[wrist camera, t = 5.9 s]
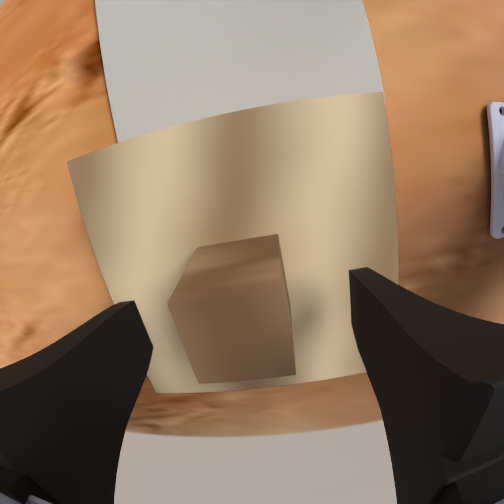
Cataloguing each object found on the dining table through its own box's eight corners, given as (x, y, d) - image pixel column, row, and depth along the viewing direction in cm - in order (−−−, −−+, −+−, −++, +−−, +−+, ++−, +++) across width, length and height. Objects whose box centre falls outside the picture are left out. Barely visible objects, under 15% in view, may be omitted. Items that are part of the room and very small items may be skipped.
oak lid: (374, 93, 10) (436, 80, 6) (388, 353, 15) (418, 428, 10) (79, 158, 12) (-1, 183, 7) (161, 380, 16) (134, 452, 12)
